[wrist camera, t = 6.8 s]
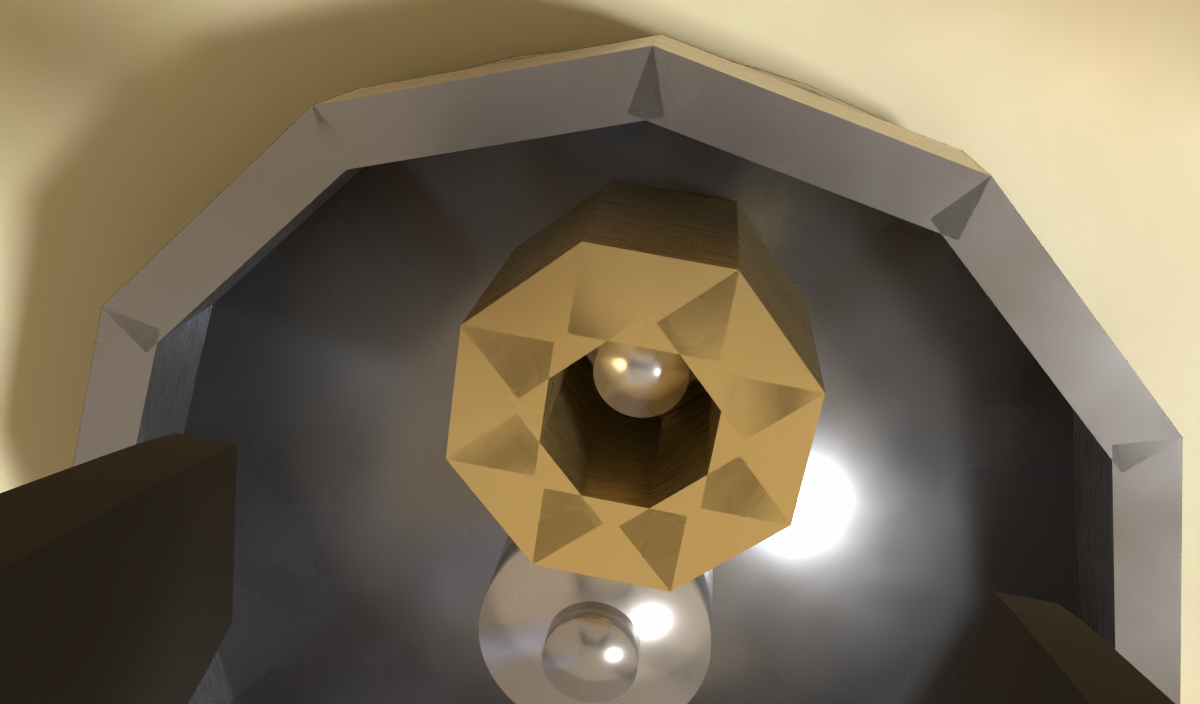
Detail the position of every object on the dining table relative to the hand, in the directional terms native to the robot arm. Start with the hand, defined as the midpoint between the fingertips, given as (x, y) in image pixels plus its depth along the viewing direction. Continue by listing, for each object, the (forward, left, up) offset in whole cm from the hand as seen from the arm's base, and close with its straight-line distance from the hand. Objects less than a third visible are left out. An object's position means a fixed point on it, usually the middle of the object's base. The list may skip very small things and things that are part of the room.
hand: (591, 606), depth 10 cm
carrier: (-4, -3, -10) cm, 11 cm away
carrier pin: (0, 0, -10) cm, 10 cm away
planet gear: (0, 0, -9) cm, 9 cm away
